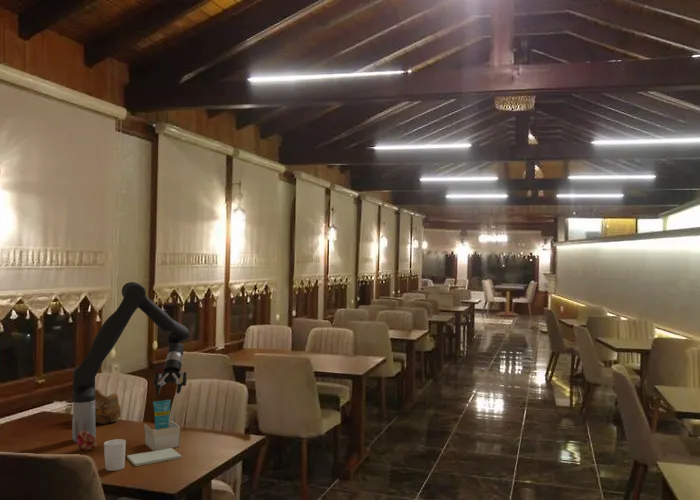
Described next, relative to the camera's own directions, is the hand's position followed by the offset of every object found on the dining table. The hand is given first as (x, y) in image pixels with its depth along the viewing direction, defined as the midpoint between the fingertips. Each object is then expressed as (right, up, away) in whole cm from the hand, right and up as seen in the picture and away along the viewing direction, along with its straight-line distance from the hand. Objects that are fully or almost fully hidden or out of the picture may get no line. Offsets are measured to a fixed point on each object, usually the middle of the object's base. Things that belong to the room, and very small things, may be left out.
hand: (168, 393), depth 284 cm
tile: (+3, -19, -30) cm, 35 cm away
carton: (+1, -20, -12) cm, 23 cm away
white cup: (-8, -20, -42) cm, 47 cm away
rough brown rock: (-45, -21, +30) cm, 58 cm away
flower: (-29, -20, -17) cm, 39 cm away
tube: (+1, -20, -12) cm, 23 cm away
